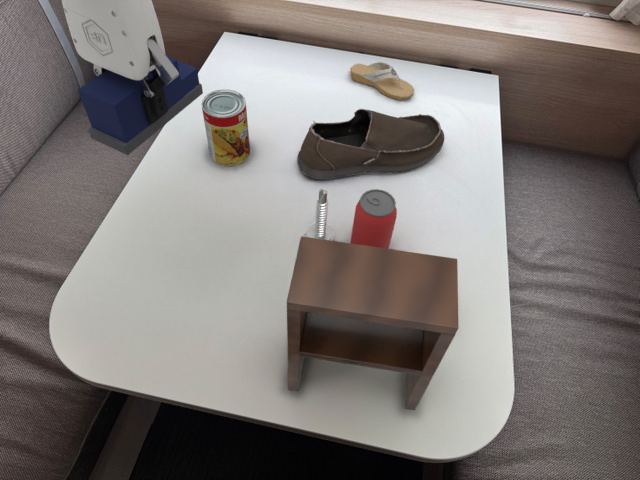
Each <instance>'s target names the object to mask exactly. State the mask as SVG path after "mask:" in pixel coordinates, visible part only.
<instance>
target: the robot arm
mask: <svg viewBox="0 0 640 480" xmlns="http://www.w3.org/2000/svg"><path fill="white" fill-rule="evenodd" d="M61 5H62V8H63V12H64V15H65V19H66V23H67V27H68V30H69V33H70V37H71V40H72V42H73V45H74V48H75V50H76V53H77V54H78V55H79V56H80V57H81V59H83V60H85V61H87V62H89V63H90V64H91V65H92V66H93V72H94V74H95V75H96V77H97V76H99V75H100V74H102V73H103V72H105V71H106V70H109V71H112V72H114V73H117V74H119V75H122V76H124V77H127V78H130V79H133V80H137V81H138V83H139V85H140V87H141V88H142V90H143V92H144V95H142V96H141V97H142V102H143V106H144V109H145V113H146V117H147V120H148V122H149V123H152V124H153V123H155V122H156V121H157V120H158V119H160V118H161V117H162V116H163V115H165V114H166V113H167V112H168V107H167V102H166V98H165V94H164V89H163V88H165V87H166V86H167V85H168V84H169V83H170V82H172V81H173V80H174V79H176V78H177V77H178V76H179V72H178V71H177V69H176V68H175V67H174V65H173V64H172V63H171V62H170V60H169V59H168V58H167V56H168V55H166V49H165V44H164V39H163V36H162V31H161V27H160V23H159V19H158V15H157V13H156V10H155V6H154V3H153V1H152V0H61ZM150 72H151V74H152V76H153V78H154V81H153V82H152V83H151V84H150V83H149V81H148V79H147V77H146V76H147V75H148V73H150Z"/></svg>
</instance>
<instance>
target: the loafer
mask: <svg viewBox="0 0 640 480" xmlns="http://www.w3.org/2000/svg"><path fill="white" fill-rule="evenodd" d="M353 114H354V116H352V118H351V119H349V120H345V121H338V122H315V120H313V123H311V124H310V126H309V128H308V131H307V133H306V135H305V137H304V139H303V141H302V144H301V146H300V150H299V151H298V153H297V157H296V158H297V159H296V160H297V161H296V163H297V165H298V168H299V169H300V171H301V172H302V173H303V174H304V175H306V176H307V177H308V178H310V179H314V180H329V179H338V178H344V177H351V176H355V175H360V174H367V173H368V174H369V173H383V174H396V173H397V174H399V173H407V172H410V171H414V170H416V169H418V168H420V167H422V166H424V165H425V164H427V163H428V162H430V161H431V160H433V158H435V157H436V156H437V155H438V153H439V152H441V150H442V148H443V146H444V143H445V134H444V130H443V129H442V127H441V123H440V122H439V121H438V120H437V118H435V117H434V116H432V115H429V114H421V113H419V114H416V115H407V116H399V117H397V116H393V115H387V114H385V113H381V112H378V111H375V110H371V109H365V108H359V109H357V110H356V111H355V112H354V113H353Z"/></svg>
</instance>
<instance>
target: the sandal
mask: <svg viewBox="0 0 640 480" xmlns="http://www.w3.org/2000/svg"><path fill="white" fill-rule="evenodd" d="M349 73H350V77H351V78H352V80H353V81H354V82H357V83H360V84H364V85H367V86H370V87H371V86H372V87H373V88H376V89H377V91H378V92H380V93H381V94H382V95H384V96H386V97H387V98H390V99H394V100H397V101H398V100H399V101H400V100H401V101H402V100H407V99H410V98H411V97H412V96H413V95H414V92H415V88H414V87H413V85H412V84H410V83H409V82H408V81H406V80H404V79H402V78H401V77H400V76H399V73H398V72H397V71H396V69H394V67H393V66H391V65H390V64H388V62H383V61H377V62H374V63H371V64H368V65H366V64H364V63H355V64H353V65H352V66H351V67H350V70H349Z"/></svg>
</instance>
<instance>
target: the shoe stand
mask: <svg viewBox="0 0 640 480" xmlns="http://www.w3.org/2000/svg"><path fill="white" fill-rule="evenodd" d="M458 270H459V269H458V259H457V258H455V257H447V256H441V255H433V254H427V253H420V252H413V251H407V250H399V249H392V248H389V249H386V248H379V247H372V246H365V245H358V244H351V243H350V242H344V241H337V240H333V241H331V240H324V239H317V238H310V237H306V236H300V239H299V244H298V249H297V253H296V258H295V262H294V267H293V271H292V276H291V280H290V284H289V290H288V294H287V299H286V344H287V345H286V347H287V348H286V349H287V390H288V391H292V392H299V389H300V385H301V379H302V373H303V368H304V361H305V358H307V359H313V360H319V361H326V362H333V363H338V364H339V363H340V364H344V365H351V366H352V365H353V366H358V367H365V368H369V369H370V368H371V369H375V370H376V369H377V370H383V371H389V372H397V373H401V374H405V385H404V387H405V388H404V404H403V405H404V407H403V408H404V409H405V410H410V411H416V410H417V408H418V405H419V404H420V402H421V400H422V398H423V396H424V394H425V392H426V391H427V389H428V387H429V384H430V383H431V381H432V380H433V377H434V376H435V373H436V372H437V370H438V368H439V367H440V364H441V363H442V360H443V359H444V357H445V355H446V353H447V351H448V349H449V347H450V345H451V343H452V341H453V340H454V338H455V336H456V334H457V332H458V330H459V281H458V280H459V278H458V277H459V276H458V274H459V273H458Z"/></svg>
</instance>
